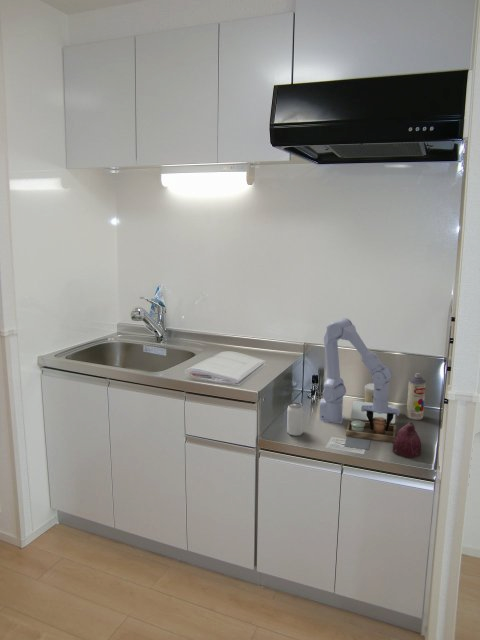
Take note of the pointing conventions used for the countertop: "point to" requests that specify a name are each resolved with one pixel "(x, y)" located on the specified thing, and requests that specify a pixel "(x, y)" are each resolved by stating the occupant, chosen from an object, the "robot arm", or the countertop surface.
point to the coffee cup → (369, 392)
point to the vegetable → (407, 442)
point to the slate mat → (357, 443)
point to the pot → (379, 425)
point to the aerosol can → (416, 397)
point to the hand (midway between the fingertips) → (379, 429)
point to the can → (295, 419)
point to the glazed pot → (358, 426)
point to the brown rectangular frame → (370, 434)
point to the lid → (361, 415)
